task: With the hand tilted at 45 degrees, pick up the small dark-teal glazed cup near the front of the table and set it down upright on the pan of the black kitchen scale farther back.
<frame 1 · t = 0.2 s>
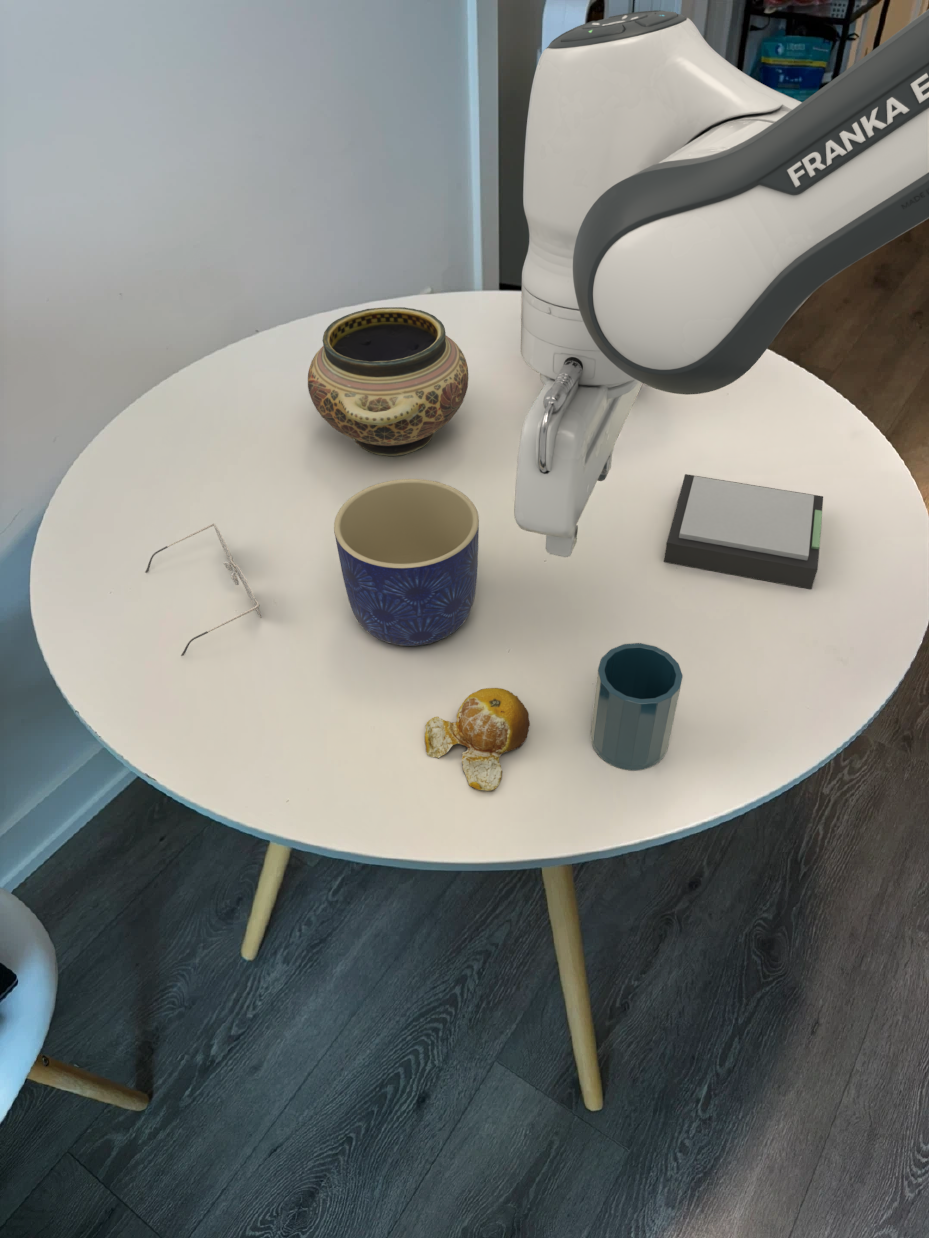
hand: (579, 510, 66), 19 cm above the table, tool pointing down, fingers open, 8 cm apart
cup: (629, 739, 75), on the table
planter: (414, 614, 86), on the table
scale: (742, 538, 93), on the table
eyeglasses: (204, 600, 88), on the table
vase: (597, 394, 115), on the table
ceramic bowl: (393, 436, 109), on the table
fruit: (473, 743, 75), on the table
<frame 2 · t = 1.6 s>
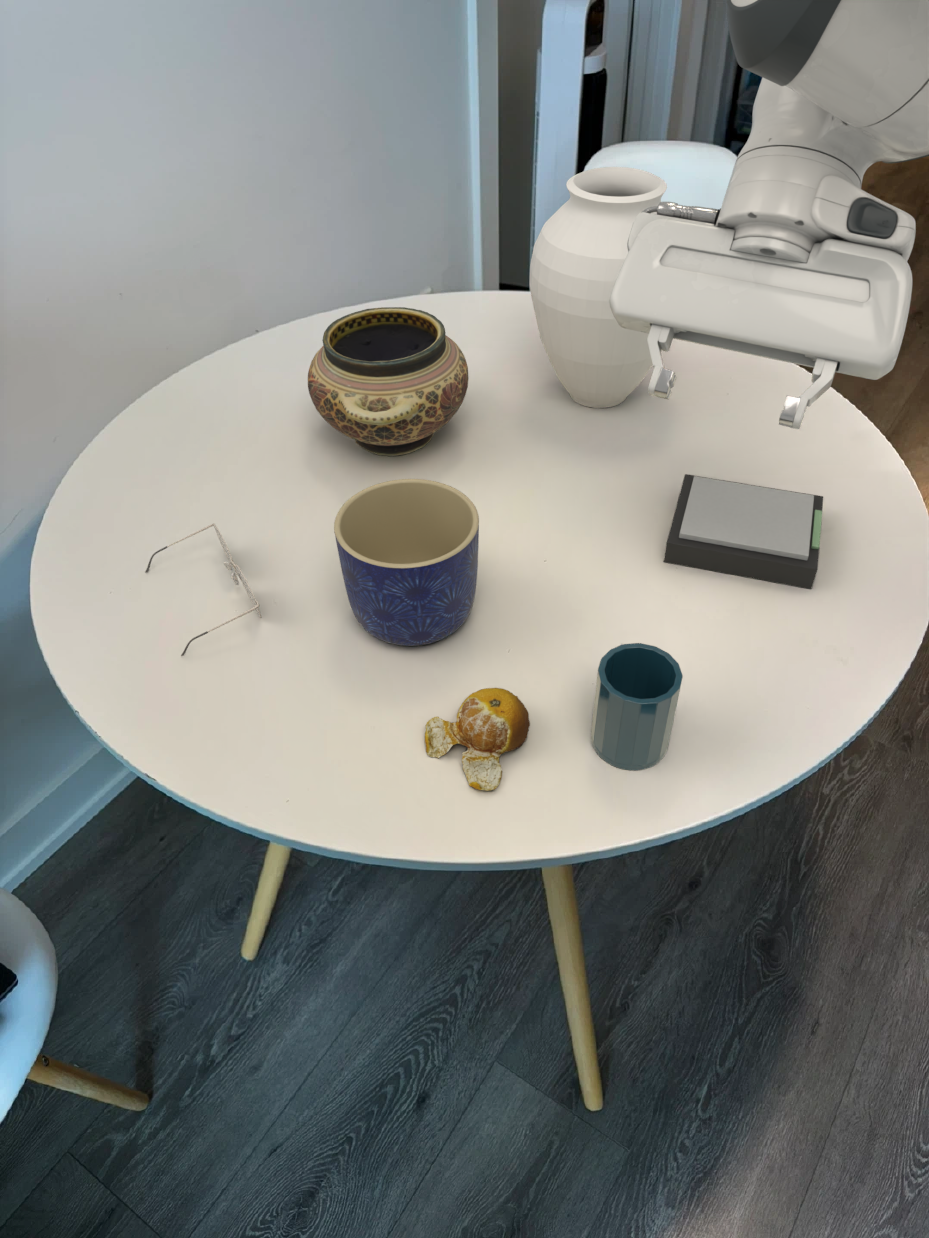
hand: (722, 410, 66), 24 cm above the table, tool tilted 45°, fingers open, 8 cm apart
nothing on the table moved.
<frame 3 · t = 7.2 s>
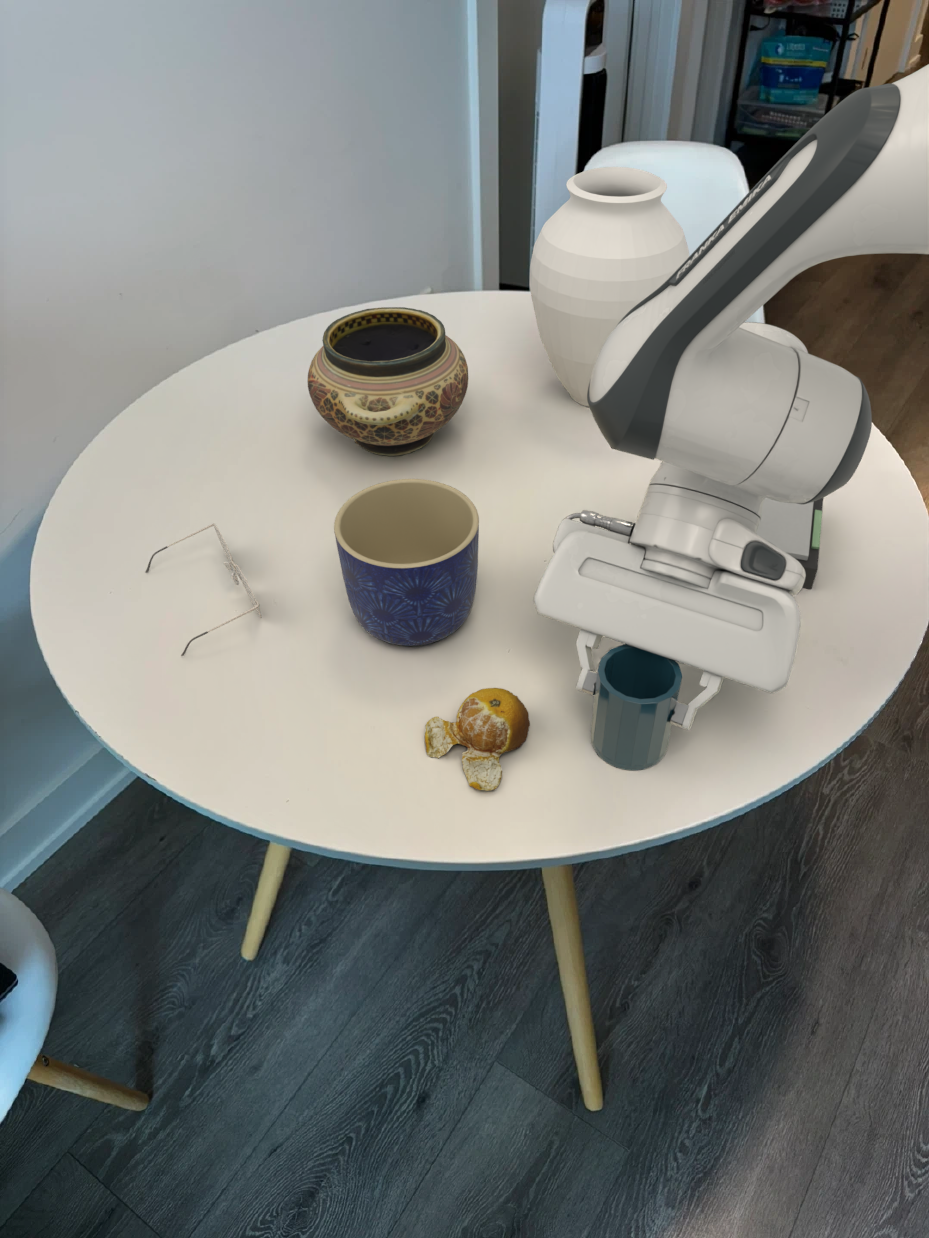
hand: (632, 709, 71), 4 cm above the table, tool tilted 45°, fingers closed on cup, 6 cm apart
cup: (629, 739, 75), on the table, touching gripper
everything else where it was.
when the fingers open (7 cm above the table, at t = 16.6 s): cup stays where it is, resting on scale.
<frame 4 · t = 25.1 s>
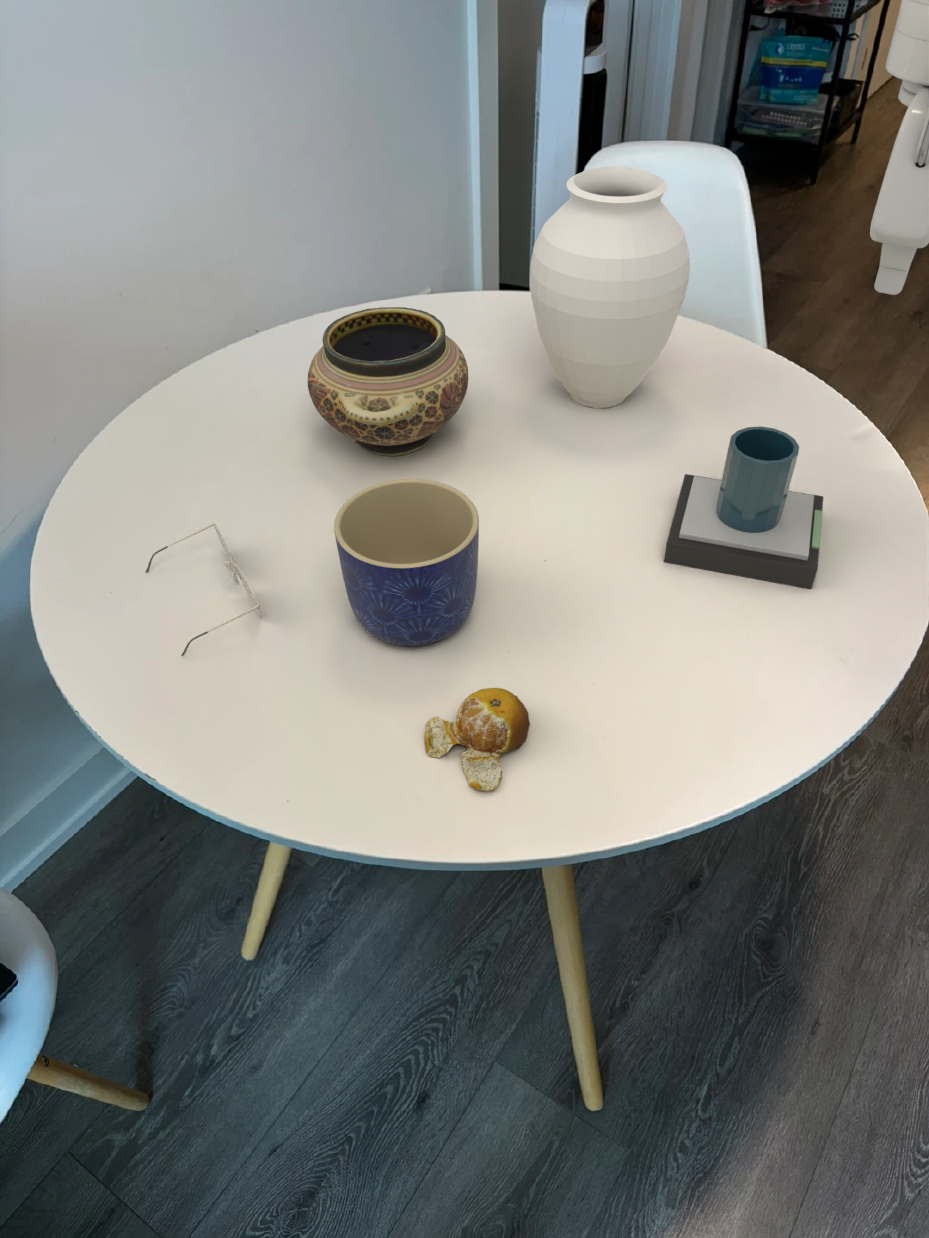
hand: (899, 264, 66), 31 cm above the table, tool pointing down, fingers open, 8 cm apart
cup: (747, 513, 91), point 3 cm above the table, touching scale
everything else where it was.
at the end: cup inside the target area on the scale (0.1 cm from its centre), point 3.1 cm above the scale's base; cup tilted 0°; the gripper is holding nothing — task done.
